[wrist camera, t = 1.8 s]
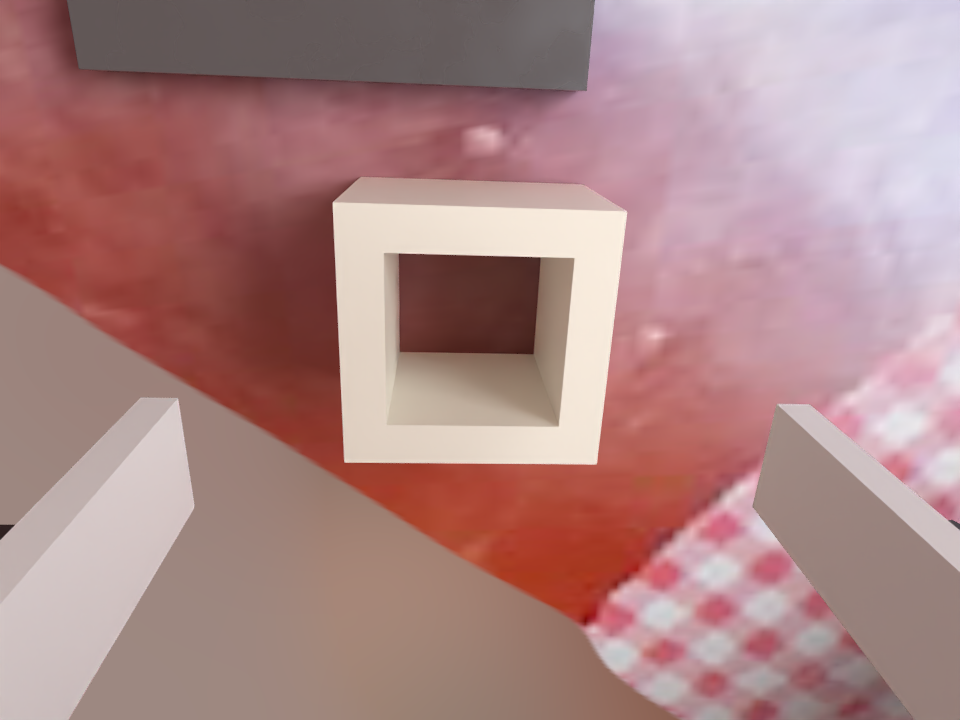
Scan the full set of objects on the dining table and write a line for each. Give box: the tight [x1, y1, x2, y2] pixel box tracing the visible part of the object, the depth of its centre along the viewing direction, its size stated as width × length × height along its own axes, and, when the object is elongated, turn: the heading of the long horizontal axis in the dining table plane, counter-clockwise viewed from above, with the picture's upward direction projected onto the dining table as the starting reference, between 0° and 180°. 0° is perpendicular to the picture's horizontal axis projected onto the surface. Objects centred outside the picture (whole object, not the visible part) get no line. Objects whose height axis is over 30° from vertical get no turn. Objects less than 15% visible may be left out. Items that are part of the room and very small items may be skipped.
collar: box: [333, 177, 627, 464], centre depth 25 cm, size 9×9×7 cm
